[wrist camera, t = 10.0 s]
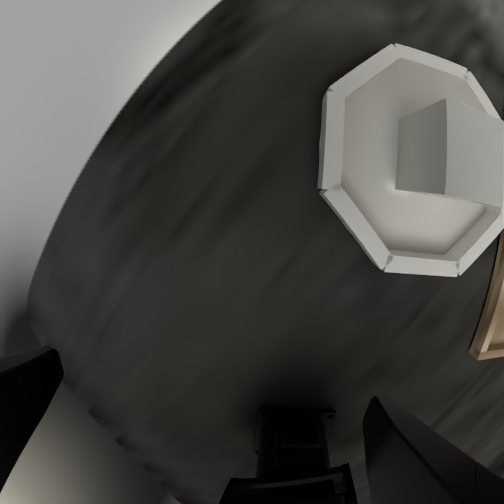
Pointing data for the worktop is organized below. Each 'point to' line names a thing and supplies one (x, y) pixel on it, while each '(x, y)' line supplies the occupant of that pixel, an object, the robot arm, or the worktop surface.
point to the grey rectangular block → (452, 153)
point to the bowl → (385, 165)
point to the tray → (492, 314)
